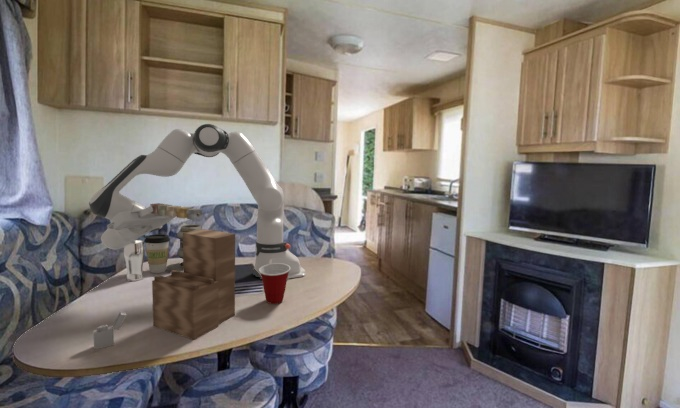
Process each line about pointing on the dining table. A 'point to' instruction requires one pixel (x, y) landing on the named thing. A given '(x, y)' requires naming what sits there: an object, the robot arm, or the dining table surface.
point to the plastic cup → (274, 281)
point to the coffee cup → (157, 252)
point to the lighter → (107, 333)
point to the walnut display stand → (197, 286)
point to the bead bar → (177, 211)
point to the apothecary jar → (180, 235)
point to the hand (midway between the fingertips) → (159, 207)
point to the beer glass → (134, 260)
